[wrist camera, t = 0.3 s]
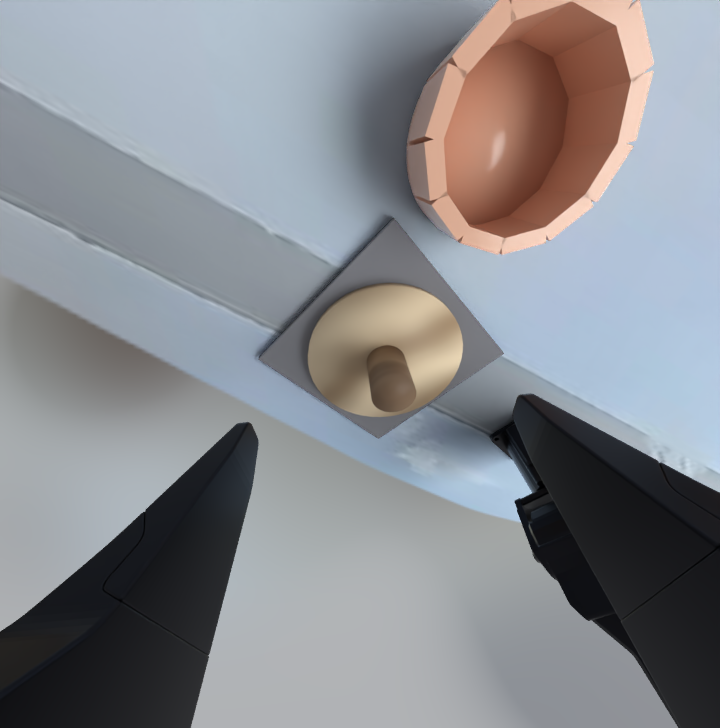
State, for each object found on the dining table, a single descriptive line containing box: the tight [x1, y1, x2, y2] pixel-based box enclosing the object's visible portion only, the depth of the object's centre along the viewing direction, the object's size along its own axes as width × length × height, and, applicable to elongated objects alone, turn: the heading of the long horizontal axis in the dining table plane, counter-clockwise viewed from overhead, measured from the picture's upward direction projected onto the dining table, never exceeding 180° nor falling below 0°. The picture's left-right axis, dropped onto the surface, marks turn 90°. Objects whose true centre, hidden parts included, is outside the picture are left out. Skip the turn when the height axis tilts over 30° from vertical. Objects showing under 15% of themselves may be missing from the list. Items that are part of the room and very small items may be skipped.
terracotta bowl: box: [406, 0, 654, 255], centre depth 14 cm, size 9×9×4 cm
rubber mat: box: [259, 218, 504, 439], centre depth 23 cm, size 14×14×1 cm
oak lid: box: [308, 283, 463, 417], centre depth 21 cm, size 12×12×5 cm
